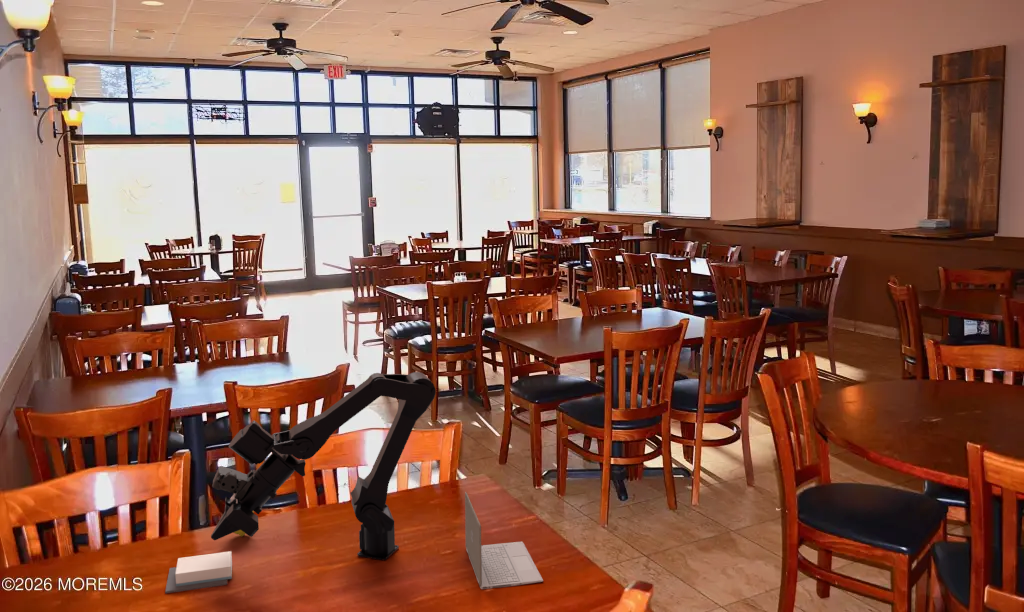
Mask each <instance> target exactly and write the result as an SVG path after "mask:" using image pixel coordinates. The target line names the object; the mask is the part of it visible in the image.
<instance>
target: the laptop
mask: <svg viewBox="0 0 1024 612" xmlns="http://www.w3.org/2000/svg"><path fill="white" fill-rule="evenodd" d="M464 508H465V510H464V511H465V512H464V514H465V515H464V517H465V519H464V521H465V523H464V524H465V526H464V527H465V529H464V530H465V533H464V534H465V549H466V552H467V555H468V558H469V561H470V564H471V566H472V568H473V571H474V574H475V577H476V581H477V583H478V586H479V588H480V589H481V590H486V589H487V590H488V589H493V587H495V588H501V586H503V588H507V587H516V586H521V585H529V584H535V583H541V582H544V579H543V577H542V575H541V573H540V572H539V570H538V567H537V566H536V564H535V562H534V561H533V557H532V556H531V554H530V553H529V551H528V549H527V546H526V545H525V543H524V542H523V541H515V542H513V541H512V542H503V543H501V542H500V543H494V544H493V543H492V544H483V545H482V524H481V522H480V520H479V518H478V515H477V513H476V511H475V508H474V507H473V504H472V502H471V500H470V497H469V494H468V493H467V491H465V492H464Z"/></svg>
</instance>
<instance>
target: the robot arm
mask: <svg viewBox="0 0 1024 612" xmlns="http://www.w3.org/2000/svg"><path fill="white" fill-rule="evenodd" d="M436 393H437V390H436V387H435V384H434V383H433V382H432V381H431V379H430V378H428V376H427V375H426V374H424V373H423V372H420V371H414V372H411V373H409V374H402V373H391V374H390V373H388V374H387V373H381V372H376V373H371V374H370V375H369V377H368V378H367V379H366V380H364V381H363V382H362V383H360V384H359V385H358V386H356V387H355V388H354V389H353V390H352V391H350V392H349V393H347V394H346V395H344V396H343V397H342V398H340V399H339V400H338V401H337V402H335V403H334V404H333V405H331V406H330V407H328V408H327V409H326V410H324V411H323V412H322V413H320V414H317V415H315V416H311V417H309V418H307V419H305V420H303V421H301V422H299V423H297V424H295V425H294V426H293V427H292V428H290V429H288V430H284V431H281V432H275V433H273V434H271V433H270V432H268V431H267V430H265V428H263V427H262V426H261V425H260V423H259V422H257V420H252V421H251V422H250V423H249V424H247V425H246V426H245V427H244V428H241V429H240V430H239V431H238V432H236V435H235V436H234V437H233V438H232V440H230V442H229V444H228V448H229V449H230V450H232V451H233V452H234V453H236V454H237V455H238V456H240V457H241V458H242V459H243V460H245V462H247V463H248V464H249V465H254V464H255V465H256V466H257V465H258V464H261V465H259V467H258V468H257V469H256V470H255V469H252V470H250V471H249V472H248V473H247V474H246V473H243V472H241V471H240V470H239V471H238V470H237V469H233V468H230V467H226V466H222V465H219V466H218V469H217V471H216V473H215V476H213V477H214V478H213V480H212V485H211V486H212V489H213V488H214V489H215V490H218V491H221V490H222V491H225V492H228V493H232V496H231V497H228V496H225V500H224V501H225V504H224V505H225V506H224V512H223V514H222V515H221V518H220V519H219V521H218V523H217V524H216V526H215V527H214V529H213V531H212V533H211V535H210V538H211V539H212V540H214V541H217V540H219V539H222V538H224V537H226V536H228V535H230V534H234V532H236V531H238V530H242V531H243V532H244V533H246V534H245V535H247V536H248V537H250V538H253V536H255V534H256V533H257V532H258V531H259V529H260V528H259V516H258V515H259V514H260V513H261V512H262V511H263V509H262V508H263V506H264V505H265V504H266V503H267V502H268V501H269V500H270V498H272V499H275V498H276V496H278V495H277V494H278V493H277V491H278V490H279V489H280V488H281V487H282V486H283V485H284V484H285V482H286V481H288V479H289V478H290V477H291V476H292V475H293V474H294V472H296V473H297V474H298V475H300V476H301V477H305V476H306V471H305V470H306V460H309V459H311V458H312V457H314V456H315V455H316V454H317V453H318V451H320V450H321V449H322V448H323V447H324V445H326V444H327V442H328V441H329V439H330V437H331V436H332V435H333V434H334V433H335V432H336V431H337V430H338V429H339V428H341V426H343V425H344V424H346V423H347V422H349V421H350V420H351V419H352V418H354V417H356V415H358V414H359V413H360V412H362V411H363V410H364V409H366V408H367V407H368V406H369V405H371V404H372V403H373V402H375V401H376V400H378V398H380V397H388V398H393V399H396V400H398V406H397V411H396V415H395V416H394V419H393V421H392V423H391V425H390V426H389V427H390V428H389V430H388V432H387V434H386V436H385V439H384V440H383V443H382V446H381V448H380V450H379V452H378V454H377V457H376V459H375V461H374V463H373V466H372V468H371V471H370V472H369V473H368V475H367V476H366V477H365V478H362V477H360V476H358V477H357V478H356V483H355V486H354V488H353V490H351V492H350V494H349V495H350V496H351V505H352V508H353V512H354V515H355V517H356V520H358V522H360V523H361V524H360V530H359V531H358V536H359V550H360V551H358V552H357V557H361V558H365V559H366V558H367V559H372V560H379V561H386V560H387V559H388V558H389V557H391V556H392V555H393V553H395V552H396V551H397V550H399V547H400V546H399V544H398V545H396V541H395V540H396V539H395V537H396V535H395V520H394V518H393V515H392V512H391V510H390V508H389V505H388V504H386V503H387V497H388V491H389V483H390V481H391V479H392V477H393V475H394V472H395V470H396V467H397V466H398V463H399V461H400V459H401V457H402V454H403V452H404V449H405V447H406V446H407V442H408V440H409V438H410V435H411V433H412V431H413V429H414V427H415V425H416V422H417V421H418V420H419V419H420V418H421V417H422V416H423V415H424V413H426V411H427V410H428V408H429V407H430V406H431V404H432V402H433V401H434V399H435V398H436ZM252 511H253V512H254V513H253V512H252Z"/></svg>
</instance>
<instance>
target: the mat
mask: <svg viewBox="0 0 1024 612" xmlns="http://www.w3.org/2000/svg"><path fill="white" fill-rule="evenodd" d="M176 568H177V566H176V567H175V566H174V567H169V571H168V576H167V581H166V586H165V593H164V594H171V593H178V592H184V591H185V592H187V591H193V590H199V589H206V588H213V587H214V588H215V587H221V586H227V585H228V579H225V580H218V581H211V582H204V583H197V584H190V585H182V586H176V575H175V574H176Z"/></svg>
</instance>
